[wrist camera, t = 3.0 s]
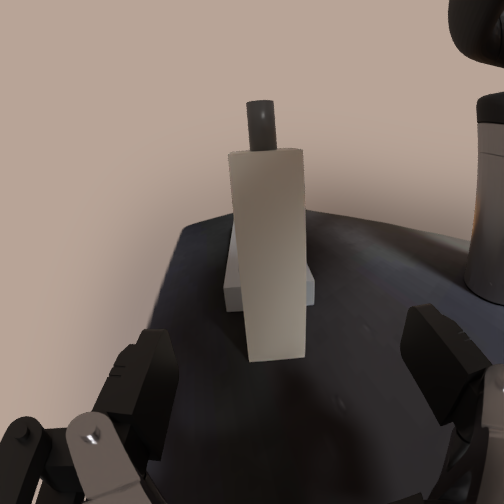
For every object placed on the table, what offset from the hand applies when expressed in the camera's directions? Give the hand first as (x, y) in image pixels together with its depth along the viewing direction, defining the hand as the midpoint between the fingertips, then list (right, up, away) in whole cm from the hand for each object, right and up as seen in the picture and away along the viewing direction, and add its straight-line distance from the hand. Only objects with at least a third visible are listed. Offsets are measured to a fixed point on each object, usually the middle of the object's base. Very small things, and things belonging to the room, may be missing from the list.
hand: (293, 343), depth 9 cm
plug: (0, -4, +13) cm, 14 cm away
